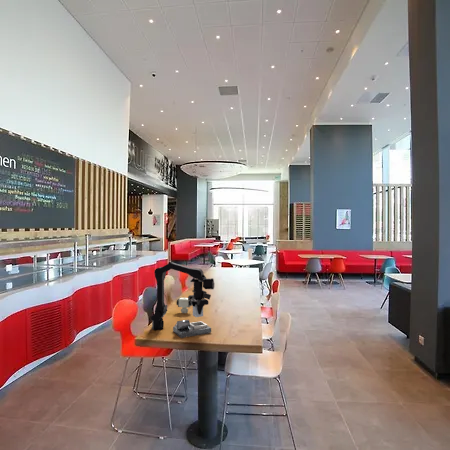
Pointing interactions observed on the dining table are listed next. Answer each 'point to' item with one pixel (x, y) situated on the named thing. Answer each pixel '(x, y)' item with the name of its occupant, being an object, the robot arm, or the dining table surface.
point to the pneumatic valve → (183, 304)
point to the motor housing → (190, 328)
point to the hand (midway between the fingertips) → (197, 313)
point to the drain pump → (195, 312)
